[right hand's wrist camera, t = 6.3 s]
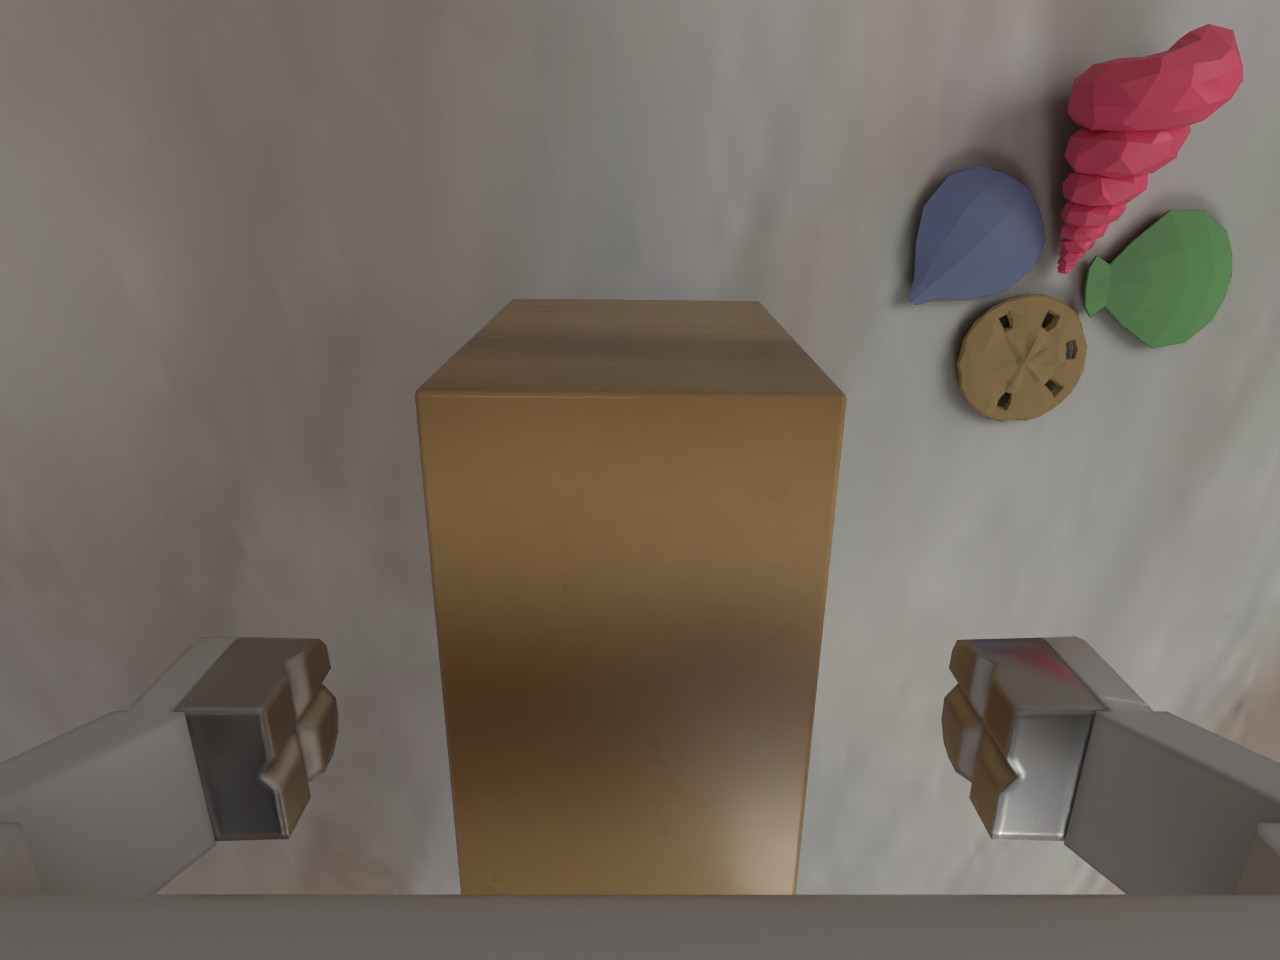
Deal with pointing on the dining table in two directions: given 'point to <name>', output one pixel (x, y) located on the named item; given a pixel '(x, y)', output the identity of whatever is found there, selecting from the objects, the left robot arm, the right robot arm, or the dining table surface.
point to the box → (629, 593)
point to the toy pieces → (1084, 231)
